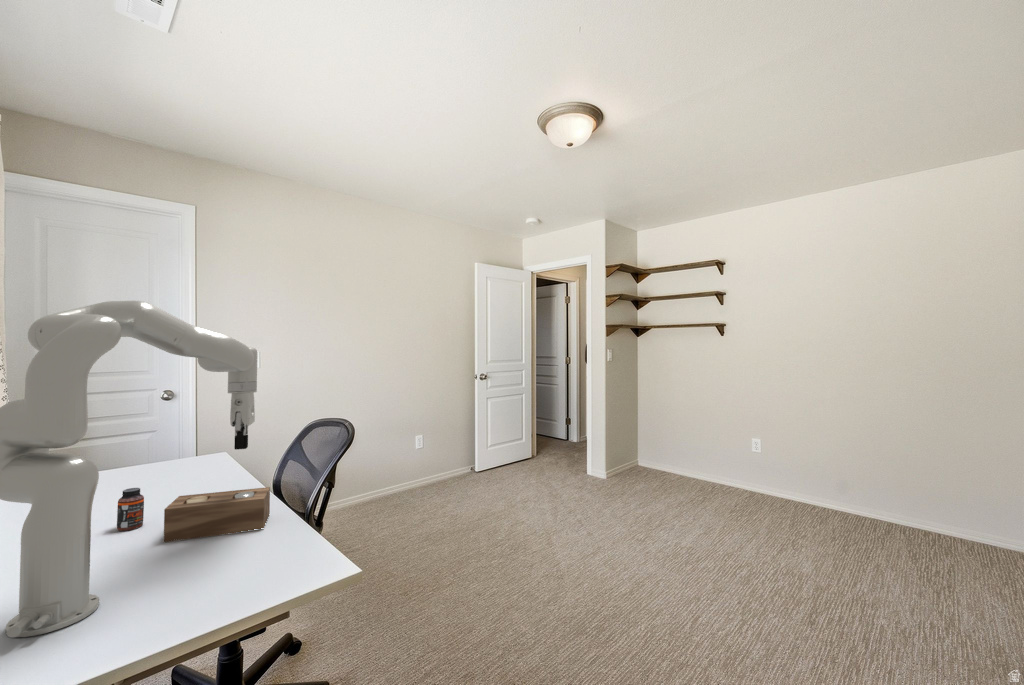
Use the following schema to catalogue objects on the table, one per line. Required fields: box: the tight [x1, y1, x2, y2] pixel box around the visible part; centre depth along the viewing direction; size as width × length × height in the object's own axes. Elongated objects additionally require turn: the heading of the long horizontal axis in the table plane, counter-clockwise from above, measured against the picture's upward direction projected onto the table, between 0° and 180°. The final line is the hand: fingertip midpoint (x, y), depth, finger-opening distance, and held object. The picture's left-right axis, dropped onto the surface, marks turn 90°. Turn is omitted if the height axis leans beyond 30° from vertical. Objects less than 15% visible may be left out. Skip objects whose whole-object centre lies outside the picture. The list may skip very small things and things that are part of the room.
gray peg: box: [235, 492, 254, 498], centre depth 132 cm, size 5×5×9 cm
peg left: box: [186, 496, 208, 504], centre depth 127 cm, size 5×5×9 cm
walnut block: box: [163, 486, 271, 543], centre depth 129 cm, size 12×24×9 cm, turn 112°
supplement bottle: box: [116, 487, 145, 532], centre depth 130 cm, size 6×6×11 cm
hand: (241, 448), depth 131 cm, fingers closed
